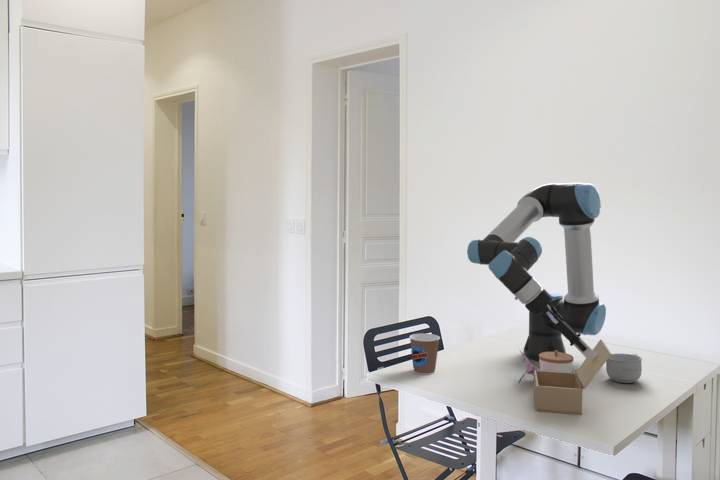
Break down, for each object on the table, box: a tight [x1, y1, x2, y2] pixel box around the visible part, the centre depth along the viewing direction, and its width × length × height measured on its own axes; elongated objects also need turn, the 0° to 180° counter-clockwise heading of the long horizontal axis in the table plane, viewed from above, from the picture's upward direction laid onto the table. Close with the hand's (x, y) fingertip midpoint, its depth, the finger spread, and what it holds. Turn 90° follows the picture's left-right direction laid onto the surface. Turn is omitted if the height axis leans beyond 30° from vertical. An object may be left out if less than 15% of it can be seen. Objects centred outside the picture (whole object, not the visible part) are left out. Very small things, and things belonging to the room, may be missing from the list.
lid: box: [574, 339, 612, 390], centre depth 174 cm, size 12×16×1 cm
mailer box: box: [533, 370, 584, 415], centre depth 176 cm, size 12×16×7 cm
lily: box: [518, 350, 541, 384], centre depth 196 cm, size 12×12×10 cm
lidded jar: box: [538, 350, 574, 373], centre depth 200 cm, size 11×11×9 cm
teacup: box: [605, 353, 643, 384], centre depth 199 cm, size 14×11×8 cm
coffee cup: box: [408, 333, 441, 375], centre depth 208 cm, size 10×10×12 cm
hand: (593, 357), depth 173 cm, fingers closed
